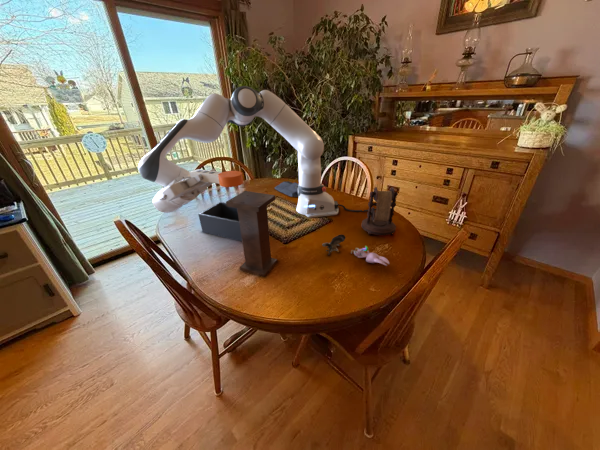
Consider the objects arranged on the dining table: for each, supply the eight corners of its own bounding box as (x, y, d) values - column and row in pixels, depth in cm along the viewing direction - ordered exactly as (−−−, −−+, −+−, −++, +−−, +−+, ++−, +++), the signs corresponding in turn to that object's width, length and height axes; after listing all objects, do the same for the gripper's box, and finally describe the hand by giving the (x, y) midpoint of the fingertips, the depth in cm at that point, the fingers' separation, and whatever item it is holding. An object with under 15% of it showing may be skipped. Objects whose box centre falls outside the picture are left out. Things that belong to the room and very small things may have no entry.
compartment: (202, 231, 107) (198, 214, 102) (223, 218, 118) (220, 201, 114) (244, 242, 99) (241, 223, 95) (262, 226, 111) (260, 208, 106)
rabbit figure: (348, 258, 90) (382, 272, 79) (347, 244, 88) (383, 257, 77) (358, 252, 94) (393, 265, 82) (358, 238, 92) (393, 250, 80)
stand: (237, 270, 83) (225, 201, 70) (253, 254, 91) (245, 190, 78) (265, 278, 79) (258, 207, 66) (279, 261, 87) (275, 195, 75)
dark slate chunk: (290, 183, 164) (290, 177, 162) (312, 192, 150) (312, 184, 147) (272, 188, 155) (272, 181, 153) (293, 198, 141) (293, 190, 138)
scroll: (364, 238, 101) (370, 193, 91) (358, 221, 114) (363, 181, 104) (399, 238, 100) (409, 194, 90) (389, 222, 113) (397, 181, 103)
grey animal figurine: (343, 257, 87) (349, 241, 93) (333, 242, 85) (340, 227, 91) (326, 260, 92) (334, 245, 98) (316, 247, 90) (325, 232, 96)
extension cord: (187, 181, 75) (184, 171, 73) (202, 175, 80) (201, 166, 79) (234, 188, 69) (232, 178, 67) (247, 181, 74) (246, 172, 73)
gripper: (151, 192, 73) (173, 174, 66) (199, 174, 90) (221, 158, 82) (163, 209, 75) (187, 194, 67) (208, 188, 91) (231, 174, 84)
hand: (206, 174), depth 75 cm, fingers closed on extension cord, 3 cm apart
